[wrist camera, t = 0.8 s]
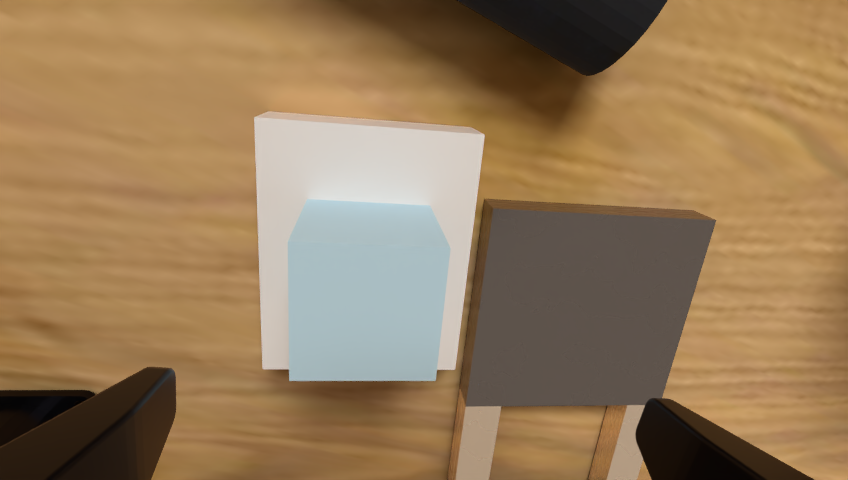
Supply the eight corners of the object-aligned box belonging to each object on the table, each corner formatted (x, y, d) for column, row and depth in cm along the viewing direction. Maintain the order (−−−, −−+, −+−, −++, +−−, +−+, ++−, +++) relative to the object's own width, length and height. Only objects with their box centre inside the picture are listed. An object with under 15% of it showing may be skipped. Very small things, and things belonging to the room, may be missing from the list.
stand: (273, 336, 21) (262, 369, 19) (268, 111, 18) (254, 117, 16) (445, 338, 22) (455, 369, 20) (470, 127, 19) (484, 134, 17)
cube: (306, 310, 18) (289, 380, 14) (307, 199, 17) (287, 241, 13) (420, 312, 19) (435, 380, 15) (430, 205, 17) (450, 247, 13)
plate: (440, 535, 27) (444, 561, 25) (484, 199, 20) (493, 208, 19) (602, 527, 28) (614, 551, 27) (693, 210, 22) (716, 220, 20)
